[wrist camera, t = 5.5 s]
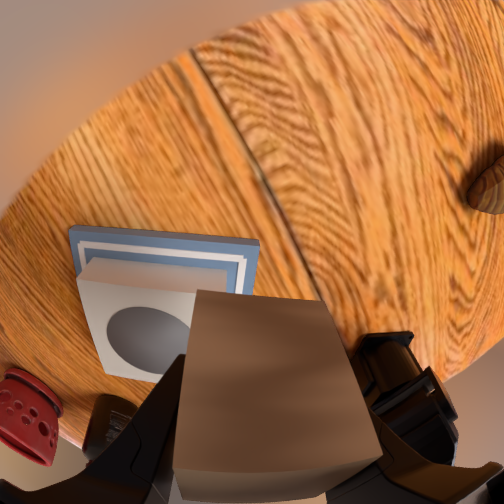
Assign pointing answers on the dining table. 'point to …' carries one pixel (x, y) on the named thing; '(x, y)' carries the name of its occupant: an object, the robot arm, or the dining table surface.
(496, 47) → the dining table surface
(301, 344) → the walnut block
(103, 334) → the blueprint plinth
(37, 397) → the plant pot
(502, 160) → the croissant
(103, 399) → the supplement bottle
